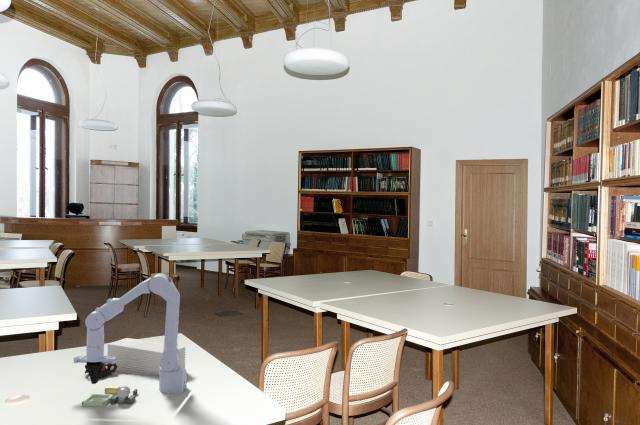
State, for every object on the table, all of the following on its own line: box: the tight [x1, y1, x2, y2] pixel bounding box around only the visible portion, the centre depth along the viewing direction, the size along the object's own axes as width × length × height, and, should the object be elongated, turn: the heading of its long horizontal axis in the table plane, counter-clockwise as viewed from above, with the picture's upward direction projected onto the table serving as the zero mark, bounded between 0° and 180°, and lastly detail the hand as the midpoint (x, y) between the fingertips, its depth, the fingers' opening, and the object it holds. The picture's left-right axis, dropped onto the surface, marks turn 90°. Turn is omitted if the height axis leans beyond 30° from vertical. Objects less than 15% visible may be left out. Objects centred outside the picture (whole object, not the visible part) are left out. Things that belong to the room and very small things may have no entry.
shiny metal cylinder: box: [116, 386, 130, 405], centre depth 166 cm, size 4×4×5 cm
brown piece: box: [84, 363, 118, 380], centre depth 193 cm, size 12×10×8 cm
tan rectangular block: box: [104, 385, 120, 396], centre depth 173 cm, size 4×2×2 cm, turn 89°
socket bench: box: [109, 387, 138, 405], centre depth 170 cm, size 18×17×3 cm
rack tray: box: [81, 393, 114, 407], centre depth 166 cm, size 8×7×2 cm
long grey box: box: [107, 337, 186, 376], centre depth 203 cm, size 32×11×11 cm, turn 67°
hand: (94, 382), depth 173 cm, fingers closed
